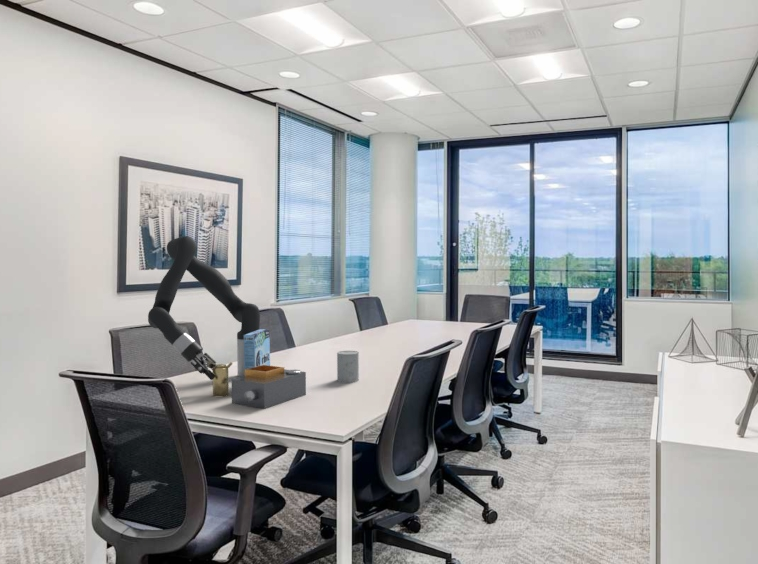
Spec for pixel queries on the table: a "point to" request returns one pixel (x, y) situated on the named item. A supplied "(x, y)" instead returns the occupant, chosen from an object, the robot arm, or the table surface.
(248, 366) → the gum box
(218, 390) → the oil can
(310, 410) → the table surface
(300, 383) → the grey box with knob
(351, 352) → the grey stone cylinder
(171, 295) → the robot arm
